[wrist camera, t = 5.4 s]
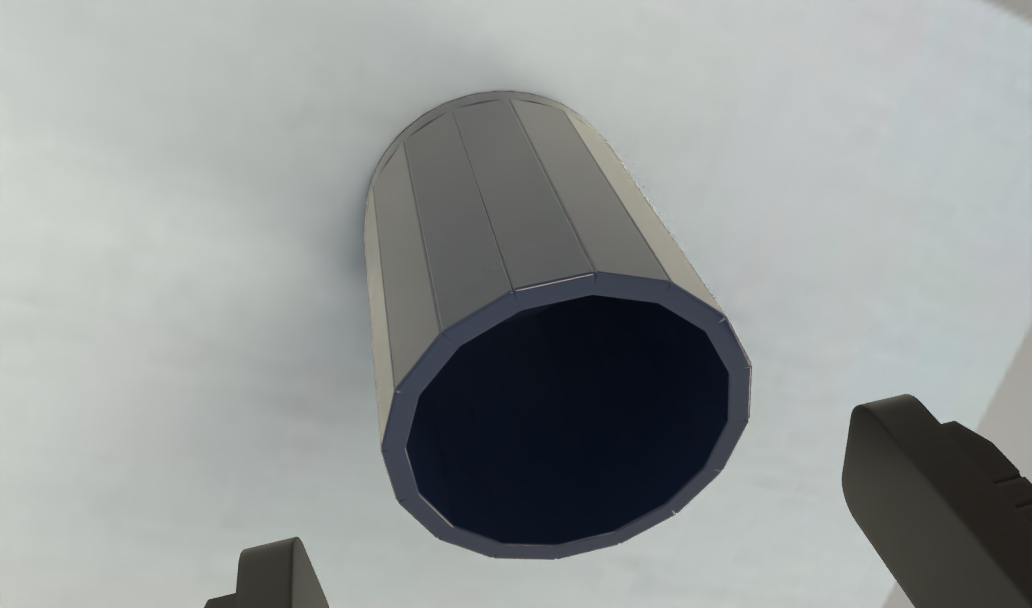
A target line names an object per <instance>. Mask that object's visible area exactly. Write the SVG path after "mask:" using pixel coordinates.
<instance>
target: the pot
mask: <svg viewBox="0 0 1032 608" xmlns="http://www.w3.org/2000/svg"><path fill="white" fill-rule="evenodd" d="M364 244H365V257H366V269H367V282H368V295H369V307H370V320H371V333H372V346H373V358H374V371H375V384H376V396H377V409H378V422H379V435H380V447H381V453H382V456H383V460H384V463H385V466H386V469H387V472H388V475H389V479H390V482H391V485H392V488H393V491H394V494H395V498H396V499H397V501H398V503H399V504H400V505H401V506H402V507H404V508H405V509H406V510H407V511H408V512H409V513H410V514H411V515H412V516H413V517H414V518H415V519H416V520H418V521H419V522H420V523H421V524H422V525H423V526H424V527H425V528H426V529H427V530H428V531H429V532H431V533H432V534H433V535H434V536H435V537H436V538H438V539H440V540H442V541H445V542H448V543H451V544H454V545H456V546H459V547H462V548H465V549H468V550H471V551H474V552H476V553H479V554H482V555H485V556H488V557H494V558H502V559H544V560H554V559H561V558H565V557H569V556H573V555H578V554H582V553H586V552H590V551H594V550H598V549H602V548H606V547H611V546H615V545H618V544H619V543H623V542H625V541H627V540H629V539H630V538H632V537H634V536H636V535H638V534H640V533H642V532H644V531H646V530H647V529H649V528H651V527H653V526H655V525H657V524H659V523H661V522H663V521H665V520H666V519H668V518H670V517H672V516H674V515H675V514H676V513H678V512H679V511H681V510H682V509H683V508H684V507H685V506H686V505H687V504H688V503H689V502H690V501H691V500H692V499H693V498H694V497H695V496H696V495H698V494H699V493H700V492H701V491H702V490H703V489H704V488H705V487H706V486H707V485H708V484H709V483H710V482H711V481H712V480H713V479H714V478H716V477H717V476H718V475H719V474H720V473H721V470H723V469H724V467H725V465H726V463H727V461H728V459H729V458H730V456H731V454H732V452H733V450H734V448H735V446H736V444H737V442H738V440H739V439H740V437H741V435H742V433H743V431H744V429H745V427H746V425H747V423H748V419H749V417H750V396H751V375H752V366H751V361H750V359H749V357H748V356H747V354H746V352H745V350H744V348H743V346H742V344H741V342H740V340H739V339H738V337H737V335H736V333H735V331H734V329H733V327H732V325H731V324H730V322H729V320H728V318H727V316H726V315H725V313H724V312H723V310H722V309H721V308H720V306H719V305H718V303H717V302H716V300H715V299H714V297H713V296H712V294H711V293H710V292H709V290H708V289H707V287H706V286H705V284H704V283H703V281H702V280H701V278H700V277H699V276H698V274H697V273H696V271H695V270H694V268H693V267H692V265H691V264H690V262H689V261H688V260H687V258H686V257H685V255H684V254H683V252H682V251H681V249H680V248H679V247H678V245H677V244H676V242H675V241H674V239H673V238H672V236H671V235H670V233H669V232H668V231H667V229H666V228H665V226H664V225H663V223H662V222H661V220H660V219H659V217H658V216H657V215H656V213H655V212H654V210H653V209H652V207H651V206H650V204H649V203H648V201H647V200H646V199H645V197H644V196H643V194H642V193H641V191H640V190H639V188H638V187H637V185H636V184H635V183H634V181H633V180H632V178H631V177H630V175H629V174H628V172H627V171H626V170H625V168H624V167H623V165H622V164H621V162H620V161H619V159H618V158H617V156H616V155H615V154H614V152H613V151H612V149H611V148H610V146H609V145H608V143H607V142H606V140H605V139H604V138H603V137H602V136H601V135H599V134H598V133H597V132H596V131H595V129H594V128H593V127H592V126H591V125H590V124H589V123H588V122H587V121H585V120H584V119H583V118H582V117H581V116H579V115H578V114H577V113H575V112H574V111H572V110H570V109H569V108H567V107H565V106H564V105H562V104H559V103H557V102H555V101H552V100H550V99H548V98H544V97H540V96H537V95H533V94H528V93H521V92H513V91H494V92H487V93H479V94H474V95H470V96H466V97H462V98H458V99H456V100H453V101H451V102H448V103H446V104H443V105H441V106H439V107H437V108H436V109H434V110H432V111H430V112H428V113H427V114H425V115H423V116H422V117H421V118H419V119H418V120H417V121H415V122H414V123H413V124H411V125H410V126H409V127H408V128H407V129H406V130H405V131H404V132H403V133H402V134H400V135H399V136H398V137H397V138H396V140H395V141H394V142H393V143H392V145H391V146H390V147H389V148H388V150H387V151H386V152H385V154H384V156H383V157H382V159H381V161H380V163H379V164H378V166H377V168H376V170H375V173H374V175H373V178H372V180H371V183H370V187H369V190H368V194H367V199H366V208H365V227H364Z"/></svg>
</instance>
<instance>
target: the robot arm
mask: <svg viewBox="0 0 1032 608" xmlns="http://www.w3.org/2000/svg"><path fill="white" fill-rule="evenodd" d="M842 487H843V492H844V496H845V500H846V503H847V505H848V508H849V510H850V512H851V514H852V516H853V518H854V519H855V521H856V522H857V524H858V525H859V527H860V528H861V530H862V531H863V532H864V534H865V535H866V537H867V538H868V540H869V541H870V543H871V544H872V546H873V547H874V548H875V550H876V551H877V553H878V554H879V556H880V557H881V559H882V560H883V562H884V563H885V564H886V566H887V567H888V569H889V570H890V572H891V573H892V575H893V576H894V578H895V579H896V580H897V582H898V583H899V585H900V586H901V588H902V589H903V591H904V592H905V594H906V595H907V596H908V598H909V599H910V601H911V602H912V604H913V605H914V607H915V608H1032V484H1031V483H1030V482H1029V481H1028V480H1027V479H1026V477H1021V476H1020V474H1019V470H1018V469H1017V468H1016V467H1015V466H1014V465H1013V464H1012V463H1011V462H1010V461H1009V460H1008V459H1007V458H1006V457H1005V456H1004V455H1003V453H1002V452H1001V451H1000V450H999V449H998V448H997V447H996V446H995V445H994V444H993V443H992V442H990V441H989V440H987V439H985V438H983V437H982V436H980V435H978V434H977V433H975V432H973V431H971V430H970V429H968V428H966V427H964V426H963V425H961V424H959V423H958V422H956V421H952V422H948V423H944V424H940V423H939V422H938V421H937V419H936V418H935V417H934V416H933V415H932V414H931V413H930V412H929V411H928V410H927V408H926V407H925V406H924V405H923V404H922V403H921V402H920V401H919V400H918V399H917V398H915V397H914V396H912V395H909V394H903V395H899V396H895V397H891V398H886V399H882V400H878V401H874V402H870V403H865V404H861V405H858V406H856V407H855V408H854V409H853V411H852V414H851V419H850V426H849V433H848V439H847V446H846V452H845V459H844V466H843V472H842ZM204 608H329V606H328V602H327V600H326V597H325V595H324V593H323V590H322V588H321V586H320V583H319V581H318V578H317V576H316V574H315V571H314V569H313V567H312V564H311V562H310V559H309V557H308V555H307V552H306V550H305V548H304V545H303V543H302V541H301V540H300V538H299V537H294V538H290V539H286V540H281V541H277V542H273V543H269V544H265V545H260V546H256V547H252V548H248V549H244V550H243V551H242V552H241V554H240V558H239V565H238V576H237V587H236V593H234V594H230V595H226V596H222V597H218V598H213V599H209V600H208V601H207V603H206V605H205V607H204Z"/></svg>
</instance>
